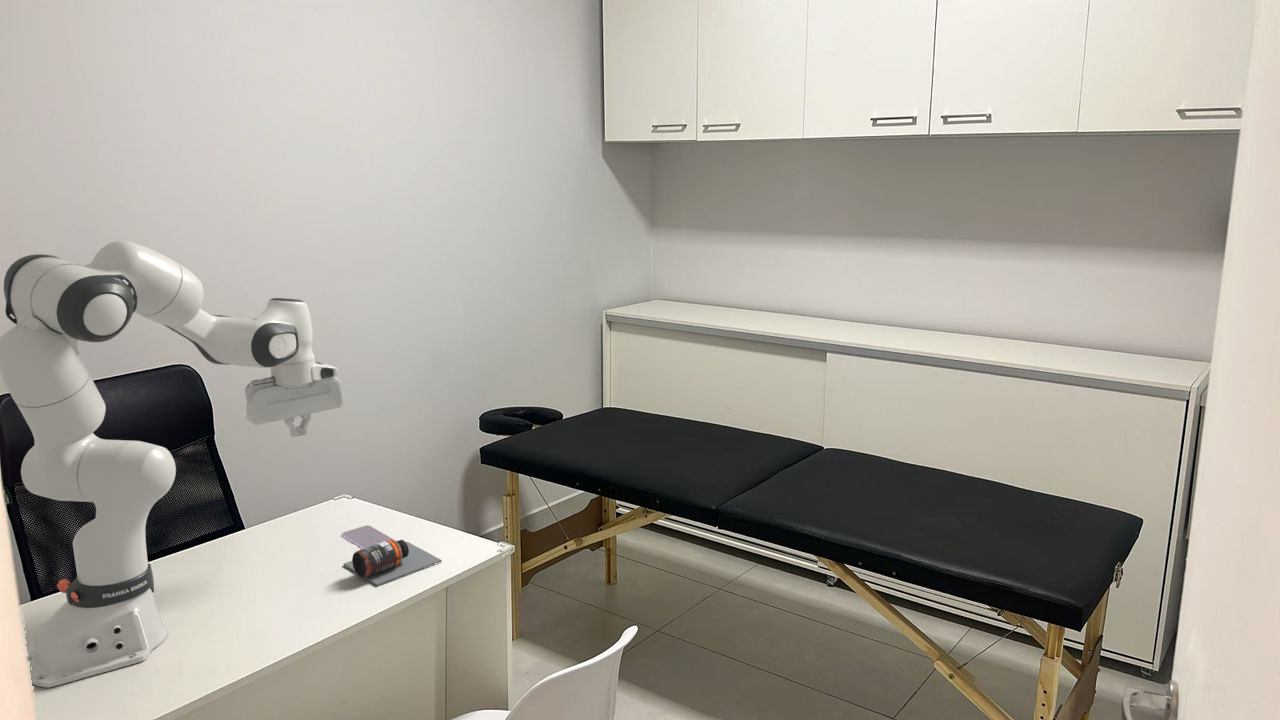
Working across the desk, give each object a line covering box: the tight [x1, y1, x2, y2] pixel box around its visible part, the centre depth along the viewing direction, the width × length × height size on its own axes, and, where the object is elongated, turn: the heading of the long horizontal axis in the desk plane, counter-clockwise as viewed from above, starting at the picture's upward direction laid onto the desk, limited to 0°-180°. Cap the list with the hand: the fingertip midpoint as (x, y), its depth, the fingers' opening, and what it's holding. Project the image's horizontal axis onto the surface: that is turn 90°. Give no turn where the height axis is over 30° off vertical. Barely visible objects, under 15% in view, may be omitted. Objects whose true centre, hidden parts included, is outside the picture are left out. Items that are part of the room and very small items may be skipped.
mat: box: [343, 541, 443, 587], centre depth 195 cm, size 16×14×1 cm
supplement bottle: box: [351, 539, 409, 579], centre depth 191 cm, size 6×6×11 cm
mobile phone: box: [341, 525, 397, 549], centre depth 207 cm, size 8×1×15 cm
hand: (298, 435), depth 190 cm, fingers closed
